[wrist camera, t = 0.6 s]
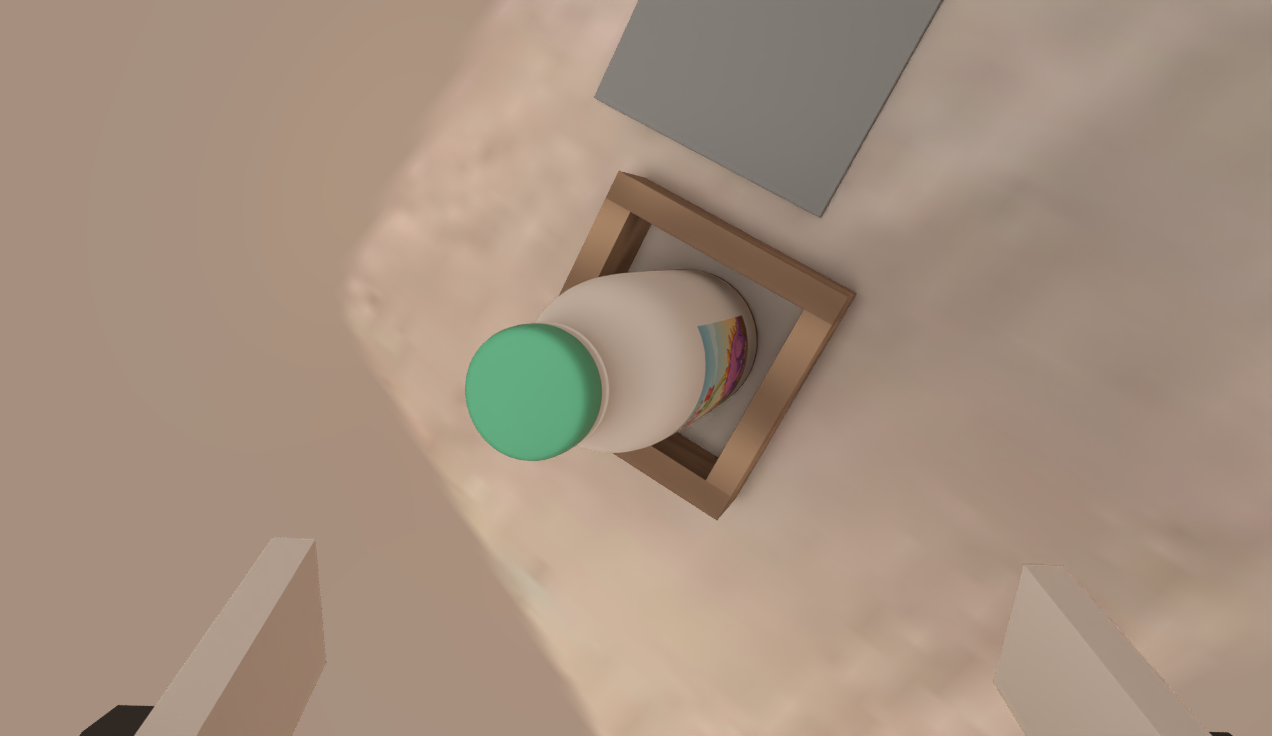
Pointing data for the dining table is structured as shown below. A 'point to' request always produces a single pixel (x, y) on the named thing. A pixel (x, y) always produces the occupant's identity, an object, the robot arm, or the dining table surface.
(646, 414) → the milk bottle
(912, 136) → the dining table surface
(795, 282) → the walnut collar
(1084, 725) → the robot arm
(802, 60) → the slate mat
